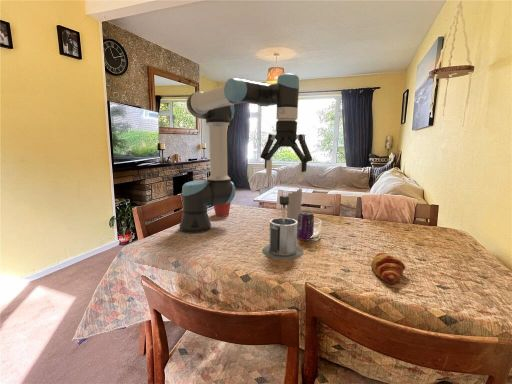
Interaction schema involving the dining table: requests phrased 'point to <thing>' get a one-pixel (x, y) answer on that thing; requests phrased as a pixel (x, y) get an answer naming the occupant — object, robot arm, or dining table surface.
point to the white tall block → (294, 204)
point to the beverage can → (305, 225)
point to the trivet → (267, 253)
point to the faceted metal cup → (283, 237)
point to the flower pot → (222, 209)
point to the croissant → (387, 267)
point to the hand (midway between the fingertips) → (284, 179)
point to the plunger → (284, 201)
